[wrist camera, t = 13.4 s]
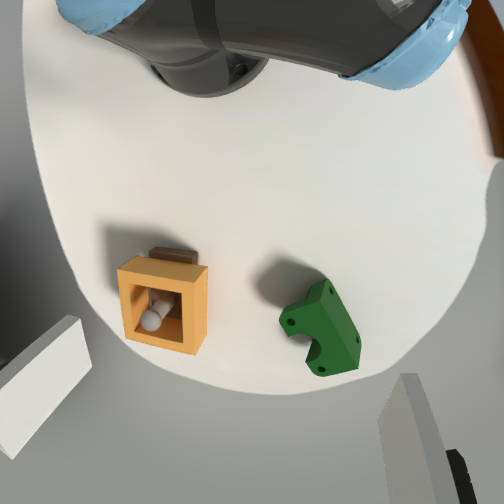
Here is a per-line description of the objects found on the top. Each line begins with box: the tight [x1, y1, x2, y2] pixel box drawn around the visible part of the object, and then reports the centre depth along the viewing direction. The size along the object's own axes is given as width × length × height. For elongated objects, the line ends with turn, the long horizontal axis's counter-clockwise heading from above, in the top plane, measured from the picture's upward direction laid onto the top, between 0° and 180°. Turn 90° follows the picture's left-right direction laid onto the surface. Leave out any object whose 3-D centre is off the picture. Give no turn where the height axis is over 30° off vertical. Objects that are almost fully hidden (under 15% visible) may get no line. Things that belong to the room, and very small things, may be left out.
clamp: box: [279, 280, 361, 377], centre depth 36 cm, size 12×6×9 cm, turn 27°
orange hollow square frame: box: [117, 256, 208, 355], centre depth 37 cm, size 10×10×5 cm
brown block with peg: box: [140, 247, 198, 331], centre depth 37 cm, size 14×6×10 cm, turn 176°
